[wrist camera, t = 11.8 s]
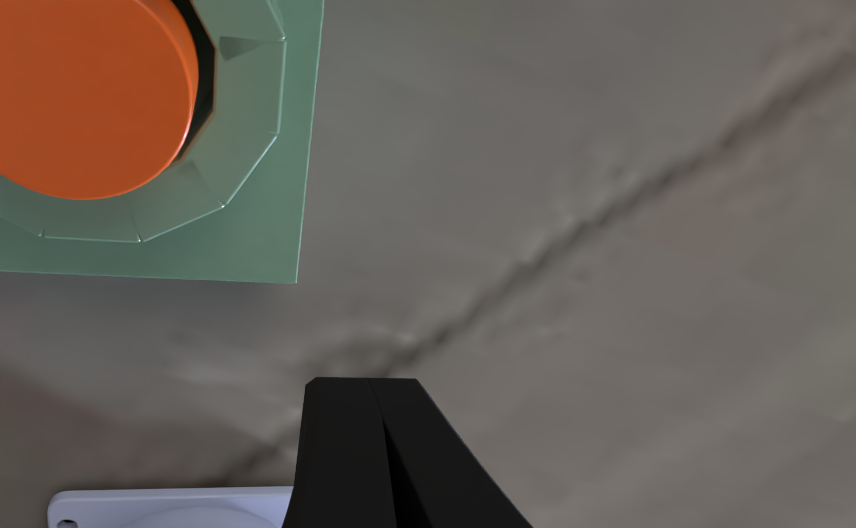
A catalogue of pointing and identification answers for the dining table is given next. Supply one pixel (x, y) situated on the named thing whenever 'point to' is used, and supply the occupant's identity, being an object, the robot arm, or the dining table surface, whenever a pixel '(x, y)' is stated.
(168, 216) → the button box
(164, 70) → the button
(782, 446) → the dining table surface
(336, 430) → the robot arm
